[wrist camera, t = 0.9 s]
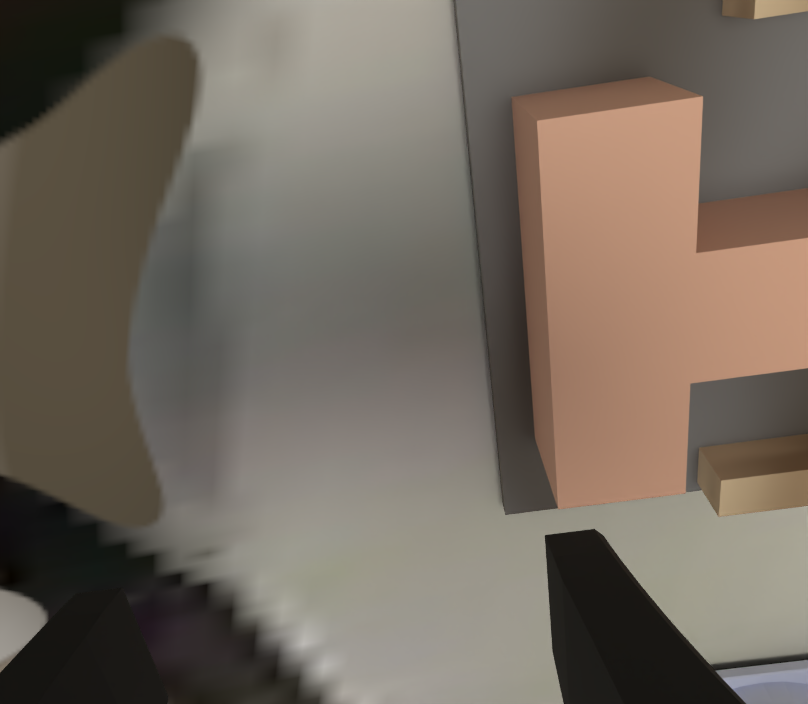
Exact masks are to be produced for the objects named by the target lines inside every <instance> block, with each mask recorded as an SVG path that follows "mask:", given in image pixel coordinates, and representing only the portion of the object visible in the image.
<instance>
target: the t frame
mask: <svg viewBox="0 0 808 704" xmlns="http://www.w3.org/2000/svg"><path fill="white" fill-rule="evenodd" d="M454 7H455V17H456V27H457V38H458V48H459V58H460V68H461V79H462V89H463V99H464V109H465V120H466V130H467V140H468V150H469V161H470V171H471V181H472V191H473V202H474V212H475V222H476V232H477V243H478V253H479V263H480V273H481V284H482V294H483V304H484V314H485V325H486V335H487V345H488V355H489V366H490V376H491V386H492V396H493V407H494V417H495V427H496V437H497V448H498V458H499V468H500V478H501V489H502V499H503V506H504V510H505V515H508V514H516V513H524V512H532V511H540V510H548V509H556V508H558V507H557V504H556V501H555V498H554V495H553V492H552V489H551V486H550V483H549V480H548V477H547V474H546V471H545V468H544V465H543V462H542V458H541V455H540V452H539V449H538V446H537V443H536V440H535V431H534V417H533V402H532V388H531V373H530V359H529V345H528V330H527V316H526V301H525V287H524V272H523V258H522V243H521V229H520V214H519V200H518V185H517V171H516V156H515V142H514V127H513V113H512V99H511V97H515V96H522V95H528V94H535V93H542V92H548V91H555V90H562V89H569V88H575V87H582V86H589V85H596V84H602V83H609V82H616V81H623V80H629V79H636V78H643V77H652V78H655V79H658V80H660V81H663V82H666V83H668V84H671V85H674V86H676V87H679V88H682V89H685V90H687V91H690V92H693V93H695V94H698V95H701V96H703V111H702V133H701V156H700V179H699V201H698V204H699V203H706V202H713V201H720V200H727V199H734V198H741V197H748V196H755V195H762V194H770V193H777V192H784V191H791V190H798V189H805V188H808V0H454ZM699 490H702V491H703V492H704V494H705V496H706V497H707V499H708V500H709V502H710V504H711V505H712V507H713V508H714V510H715V512H716V513H717V515H718V517H721V516H729V515H737V514H745V513H753V512H761V511H769V510H777V509H786V508H794V507H802V506H808V368H805V369H797V370H790V371H782V372H774V373H767V374H759V375H752V376H744V377H736V378H729V379H721V380H714V381H706V382H698V383H691V384H690V404H689V427H688V449H687V472H686V492H691V491H699Z"/></svg>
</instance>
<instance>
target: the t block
mask: <svg viewBox="0 0 808 704" xmlns="http://www.w3.org/2000/svg"><path fill="white" fill-rule="evenodd" d="M511 99H512V113H513V127H514V142H515V156H516V171H517V185H518V200H519V214H520V229H521V243H522V258H523V272H524V287H525V301H526V316H527V330H528V345H529V359H530V373H531V388H532V402H533V417H534V431H535V440H536V443H537V446H538V449H539V452H540V455H541V458H542V462H543V465H544V468H545V471H546V474H547V477H548V480H549V483H550V486H551V489H552V492H553V495H554V498H555V501H556V504H557V507H558V509H565V508H573V507H581V506H589V505H597V504H605V503H613V502H621V501H629V500H637V499H645V498H653V497H661V496H669V495H677V494H685V493H686V472H687V449H688V427H689V404H690V384H691V383H698V382H706V381H714V380H721V379H729V378H736V377H744V376H752V375H759V374H767V373H774V372H782V371H790V370H797V369H805V368H808V188H805V189H798V190H791V191H784V192H777V193H770V194H762V195H755V196H748V197H741V198H734V199H727V200H720V201H713V202H706V203H699V204H698V201H699V179H700V156H701V133H702V111H703V96H701V95H698V94H695V93H693V92H690V91H687V90H685V89H682V88H679V87H676V86H674V85H671V84H668V83H666V82H663V81H660V80H658V79H655V78H652V77H643V78H636V79H629V80H623V81H616V82H609V83H602V84H596V85H589V86H582V87H575V88H569V89H562V90H555V91H548V92H542V93H535V94H528V95H522V96H515V97H511Z"/></svg>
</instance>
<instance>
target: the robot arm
mask: <svg viewBox="0 0 808 704" xmlns="http://www.w3.org/2000/svg"><path fill="white" fill-rule="evenodd" d="M545 544H546V559H547V574H548V589H549V604H550V619H551V634H552V649H553V655H554V660H555V665H556V669H557V674H558V679H559V684H560V688H561V693H562V698H563V702H564V704H808V660H802V661H793V662H784V663H776V664H767V665H758V666H750V667H741V668H732V669H724V670H714V669H713V668H712V667H711V666H710V665H709V663H708V662H707V661H706V660H705V659H704V658H703V657H702V656H701V655H700V654H699V652H698V651H697V650H696V649H695V648H694V647H693V646H692V645H691V644H690V643H689V641H688V640H687V639H686V638H685V637H684V636H683V635H682V634H681V633H680V631H679V630H678V629H677V628H676V627H675V626H674V625H673V623H672V622H671V621H670V620H669V619H668V618H667V616H666V615H665V614H664V613H663V612H662V611H661V609H660V608H659V607H658V606H657V604H656V603H655V602H654V601H653V600H652V598H651V597H650V596H649V595H648V594H647V592H646V591H645V590H644V589H643V588H642V586H641V585H640V584H639V583H638V581H637V580H636V579H635V577H634V576H633V575H632V574H631V572H630V571H629V570H628V569H627V567H626V566H625V565H624V563H623V562H622V561H621V559H620V558H619V557H618V555H617V554H616V553H615V551H614V550H613V549H612V547H611V546H610V544H609V543H608V542H607V540H606V539H605V537H604V536H603V535H602V534H600V533H599V532H598V531H596V530H595V529H591V530H583V531H575V532H567V533H559V534H551V535H545ZM167 702H168V695H167V692H166V690H165V688H164V685H163V683H162V680H161V678H160V676H159V673H158V671H157V669H156V666H155V664H154V661H153V659H152V657H151V654H150V652H149V650H148V647H147V645H146V642H145V640H144V638H143V635H142V633H141V631H140V628H139V626H138V624H137V621H136V619H135V616H134V614H133V612H132V609H131V607H130V605H129V602H128V600H127V597H126V595H125V593H124V590H123V588H116V589H108V590H100V591H92V592H84V593H76V594H75V595H74V596H73V597H72V598H71V599H70V600H69V601H68V602H67V603H66V604H65V605H64V606H63V607H62V608H61V609H60V610H59V611H58V612H57V613H56V614H55V615H54V616H53V617H52V618H51V619H50V620H49V621H48V622H47V623H46V624H45V626H44V627H43V628H42V629H41V630H40V631H39V632H38V633H37V634H36V635H35V636H34V637H33V638H32V639H31V640H30V641H29V643H28V644H27V645H26V646H25V647H24V648H23V649H22V650H21V651H20V652H19V653H18V654H17V655H16V656H15V658H14V659H13V660H12V661H11V662H10V663H9V664H8V665H7V666H6V667H5V668H4V669H3V670H2V671H1V673H0V704H167Z"/></svg>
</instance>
